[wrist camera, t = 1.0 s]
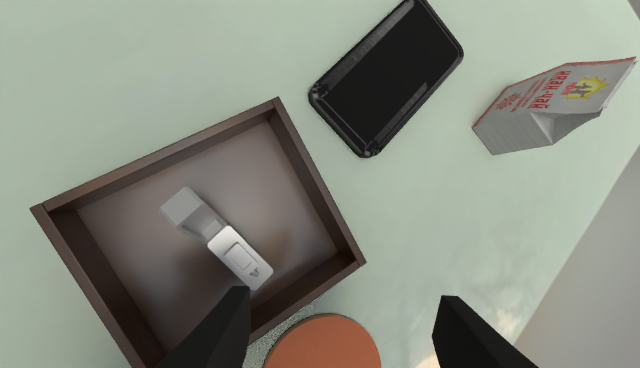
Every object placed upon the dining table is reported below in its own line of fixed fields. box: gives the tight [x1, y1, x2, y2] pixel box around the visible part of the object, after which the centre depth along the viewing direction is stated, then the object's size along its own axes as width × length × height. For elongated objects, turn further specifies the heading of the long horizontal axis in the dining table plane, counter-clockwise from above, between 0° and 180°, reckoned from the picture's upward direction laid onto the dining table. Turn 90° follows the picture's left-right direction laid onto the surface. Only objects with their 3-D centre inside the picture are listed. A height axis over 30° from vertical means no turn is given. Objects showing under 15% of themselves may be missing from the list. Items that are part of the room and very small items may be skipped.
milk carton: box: [472, 57, 638, 155], centre depth 27 cm, size 4×7×10 cm, turn 134°
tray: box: [30, 96, 367, 368], centre depth 21 cm, size 15×13×4 cm
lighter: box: [159, 186, 273, 290], centre depth 19 cm, size 7×2×8 cm, turn 43°
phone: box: [309, 0, 464, 158], centre depth 27 cm, size 8×1×15 cm
